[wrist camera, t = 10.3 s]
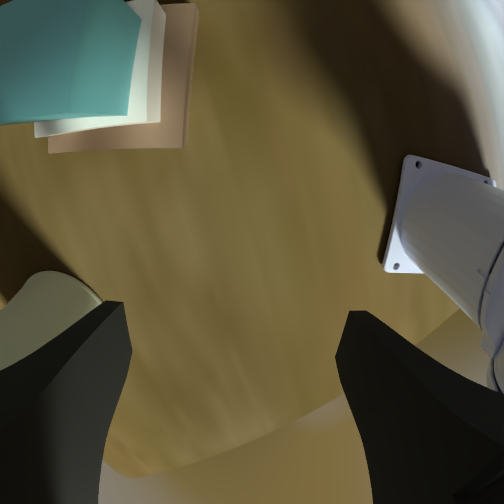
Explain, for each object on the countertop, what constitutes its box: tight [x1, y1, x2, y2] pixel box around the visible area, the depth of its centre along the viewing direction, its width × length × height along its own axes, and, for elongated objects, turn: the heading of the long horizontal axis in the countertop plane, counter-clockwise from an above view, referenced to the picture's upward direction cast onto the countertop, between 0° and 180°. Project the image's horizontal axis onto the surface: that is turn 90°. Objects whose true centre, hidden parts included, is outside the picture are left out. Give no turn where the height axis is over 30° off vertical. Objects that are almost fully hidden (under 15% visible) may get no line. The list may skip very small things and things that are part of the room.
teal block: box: [0, 0, 142, 125], centre depth 7 cm, size 4×4×5 cm
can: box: [0, 271, 103, 370], centre depth 14 cm, size 9×9×12 cm
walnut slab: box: [48, 3, 200, 154], centre depth 13 cm, size 8×8×2 cm
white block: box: [34, 0, 166, 138], centre depth 11 cm, size 6×6×2 cm
